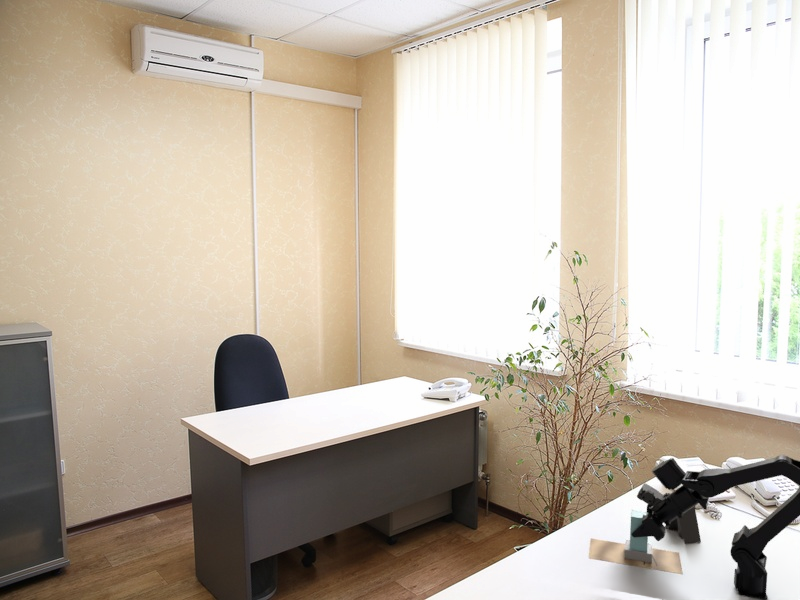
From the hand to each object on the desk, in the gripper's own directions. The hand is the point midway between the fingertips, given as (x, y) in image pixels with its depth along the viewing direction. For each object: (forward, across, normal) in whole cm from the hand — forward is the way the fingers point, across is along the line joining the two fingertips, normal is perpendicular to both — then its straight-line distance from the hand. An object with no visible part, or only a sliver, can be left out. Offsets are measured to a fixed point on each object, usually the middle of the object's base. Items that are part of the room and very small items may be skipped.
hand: (634, 531), depth 173 cm
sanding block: (+4, 0, +6) cm, 7 cm away
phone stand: (-2, -22, +14) cm, 26 cm away
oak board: (+6, 0, +6) cm, 8 cm away
